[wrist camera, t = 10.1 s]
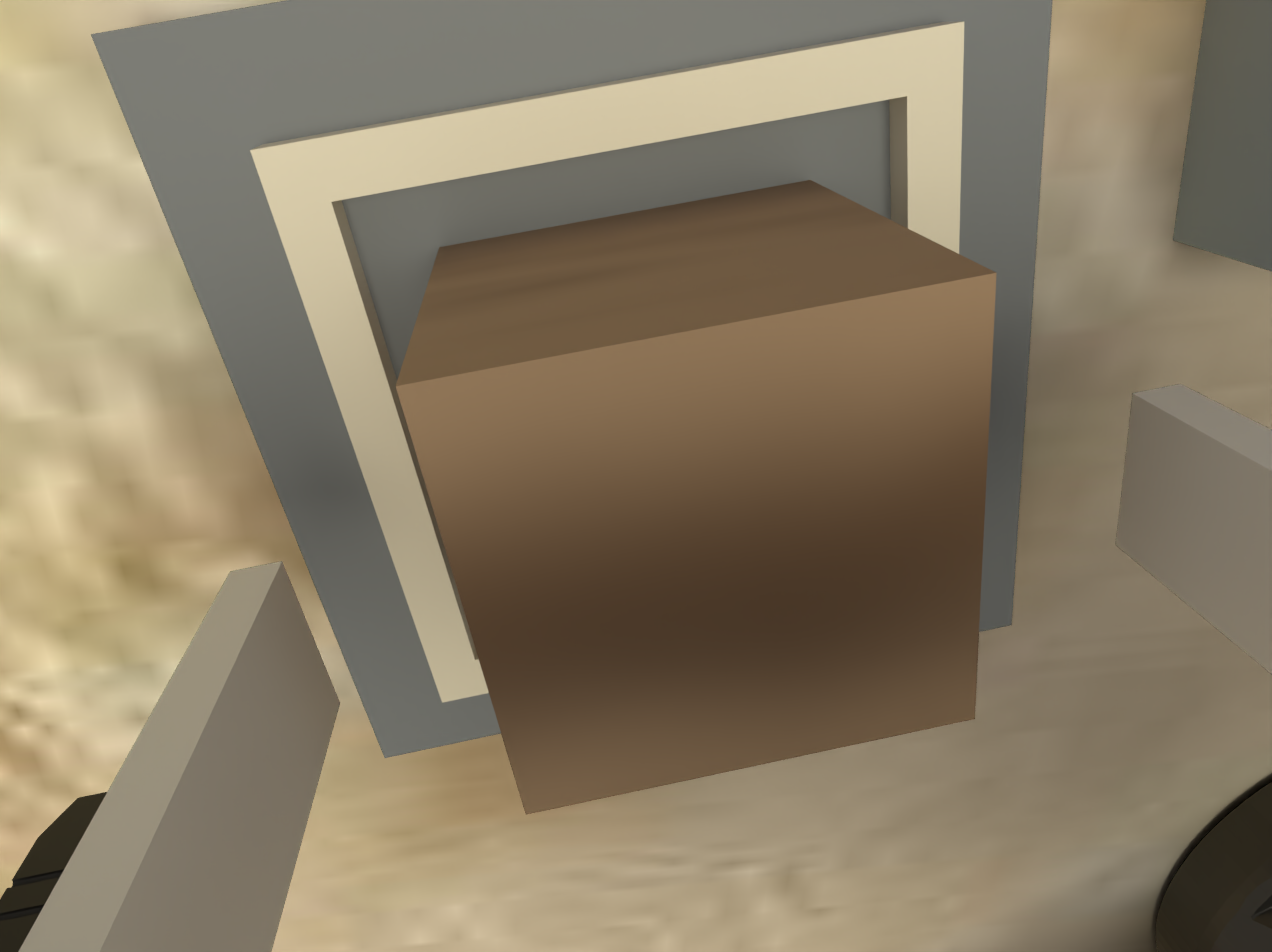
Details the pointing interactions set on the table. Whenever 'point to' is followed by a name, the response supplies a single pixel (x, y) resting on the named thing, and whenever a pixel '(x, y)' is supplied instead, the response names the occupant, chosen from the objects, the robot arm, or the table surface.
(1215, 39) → the slate blue block
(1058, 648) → the table surface
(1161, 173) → the table surface
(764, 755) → the walnut block
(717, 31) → the grey square base plate
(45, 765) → the table surface
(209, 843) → the robot arm
